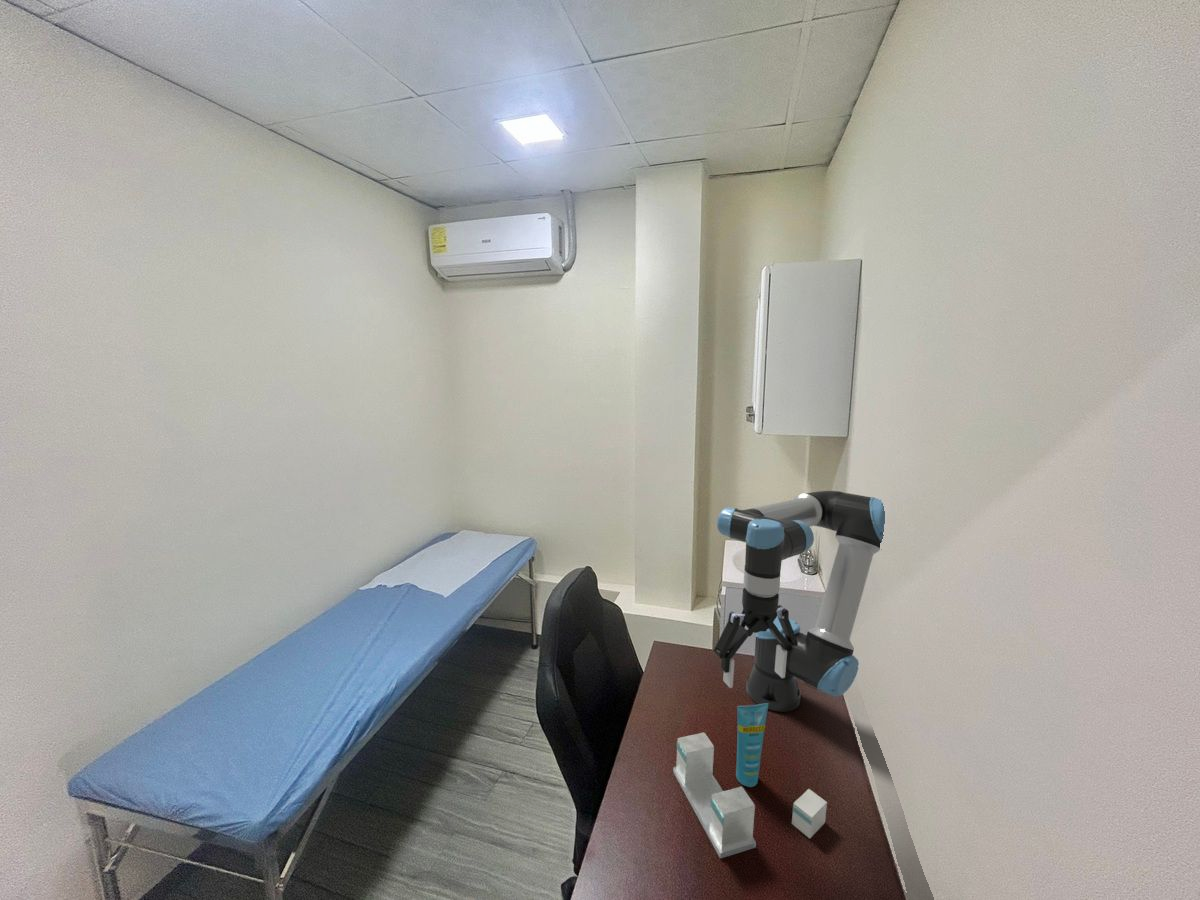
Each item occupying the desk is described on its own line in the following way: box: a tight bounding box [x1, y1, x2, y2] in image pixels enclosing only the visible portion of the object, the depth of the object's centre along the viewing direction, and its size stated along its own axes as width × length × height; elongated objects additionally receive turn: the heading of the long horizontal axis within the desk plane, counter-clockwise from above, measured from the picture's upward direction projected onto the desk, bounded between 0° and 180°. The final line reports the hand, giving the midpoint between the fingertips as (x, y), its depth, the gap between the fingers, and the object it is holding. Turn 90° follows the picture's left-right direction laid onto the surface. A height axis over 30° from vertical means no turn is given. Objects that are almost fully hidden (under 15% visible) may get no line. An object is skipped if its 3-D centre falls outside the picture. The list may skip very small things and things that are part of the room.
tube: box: [735, 703, 769, 788], centre depth 106 cm, size 7×5×19 cm, turn 103°
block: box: [791, 788, 828, 839], centre depth 97 cm, size 6×4×5 cm, turn 127°
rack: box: [672, 732, 757, 859], centre depth 100 cm, size 8×21×9 cm, turn 17°
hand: (754, 679), depth 104 cm, fingers open, 13 cm apart
